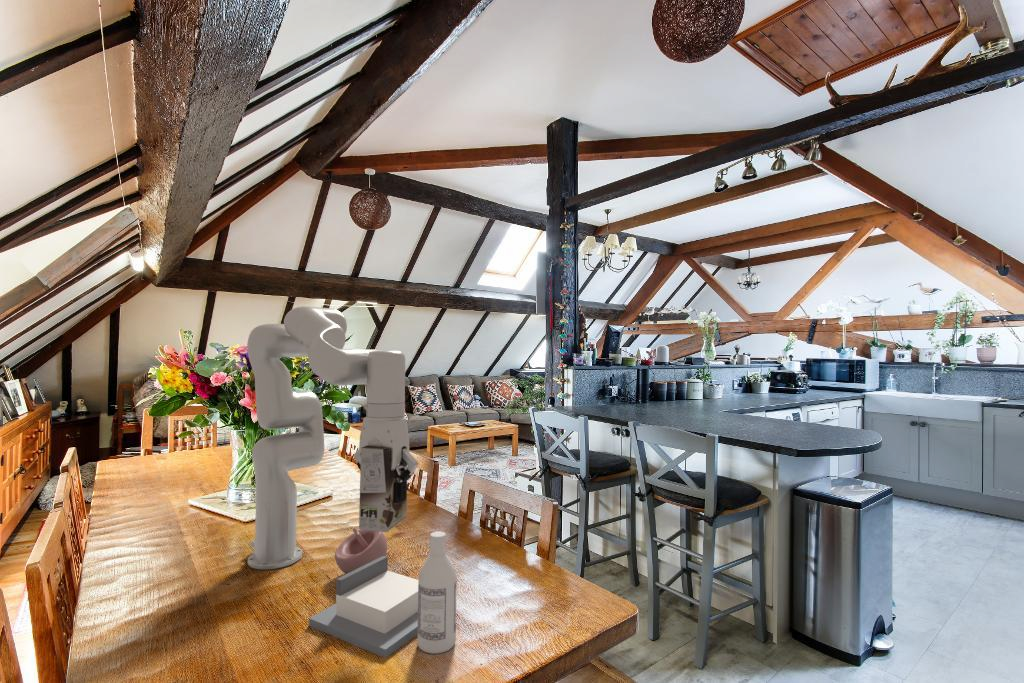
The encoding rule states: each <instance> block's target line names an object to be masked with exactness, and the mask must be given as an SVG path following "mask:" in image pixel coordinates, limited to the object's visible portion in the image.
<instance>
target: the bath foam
mask: <svg viewBox="0 0 1024 683" xmlns="http://www.w3.org/2000/svg"><path fill="white" fill-rule="evenodd" d="M418 580H419V581H418V634H417V645H418V647H419V649H420V650H421V651H422V652H425V653H427V654H434V655H435V654H442V653H445V652H448V651H449V650H451V649H452V648H453V647H454V646H455V644H456V640H457V586H458V585H457V583H458V582H457V573H456V568H455V565H454V563H453V562H452V560H451V559H450V557H449V556H448V554H447V534H446V532H444V531H433V532H431V533H430V535H429V555H428V556H427V558H426V559H425V561H424V562H423V563H422V566H421V569H420V571H419V574H418Z"/></svg>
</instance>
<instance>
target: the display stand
mask: <svg viewBox="0 0 1024 683" xmlns="http://www.w3.org/2000/svg"><path fill="white" fill-rule="evenodd" d="M388 558H389V557H388V556H387V555H386V556H382V557H380V558H378V559H376V560H374V561H372V562H370V563H368V564H366V565H364V566H362V567H360V568H358V569H356V570H354V571H352V572H350V573H348V574H344V575H341V576H339V577H337V578H336V580H335V581H336V582H335V584H336V585H335V590H336V591H335V603H334V604H333V605H330V606H329V607H326V608H325V609H323V610H321V611H320V612H318V613H316V614H314V615H312V616H311V617H309V618H308V627H311V628H312V629H315V630H318V631H319V630H320V632H321V633H324V632H325V634H327V635H329V634H330V635H329V636H331V635H332V637H334V638H336V637H337V638H336V639H338V638H339V639H338V640H341V641H343V642H346V643H348V644H350V645H353V646H356V647H358V648H360V649H363V650H365V651H367V652H370V653H372V654H374V655H377V656H379V657H382V658H384V659H386V658H388V657H389V656H390V655H392V654H393V653H394V652H397V650H399V649H400V648H401V647H403V645H405V644H407V643H408V642H409V641H410V640H412V639H413V638H415V637H416V636H418V581H419V579H416V578H413V577H410V576H407V575H403V574H400V573H396V572H395V571H391V570H389V569H388V568H389V567H388V566H389V565H388V562H389V561H388V560H389V559H388ZM414 636H415V637H414Z"/></svg>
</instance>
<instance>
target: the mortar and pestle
mask: <svg viewBox="0 0 1024 683" xmlns="http://www.w3.org/2000/svg"><path fill="white" fill-rule="evenodd" d="M358 529H359V528H357V527H354V528H352V531H353V533H352V534H351V535H349V536H348V537H347V538H345V539H344V540H342V542H341V543H340V544H339V545H338V547H337V548H336V550H335V553H334V558H335V563H336V565H337V566H338V568H339V570H341V572H342V573H344V575H346V574H348V573H350V572H352V571H354V570H356V569H358V568H360V567H362V566H364V565H366V564H368V563H370V562H372V561H374V560H376V559H378V558H380V557H382V556H387V553H388V542H387V538H386V536H385V534H384V532H380V531H371V530H361V529H359V530H358Z"/></svg>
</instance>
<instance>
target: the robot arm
mask: <svg viewBox="0 0 1024 683" xmlns="http://www.w3.org/2000/svg"><path fill="white" fill-rule="evenodd" d="M347 330H348V324H347V319H346V317H345V316H344V314H343V313H342V311H339V310H337V309H335V308H329V307H315V306H304V305H303V306H297V307H295V308H293V309H291V310H289V311H288V312H287V313H286V315H285V316H284V319H283V323H266V324H265V323H264V324H260V325H258V326H255V327H254V328H253V329H252V330H251V331H250V333H249V335H248V339H247V344H246V348H247V356H248V360H249V363H250V366H251V369H252V371H253V375H254V387H255V388H254V389H255V392H254V393H255V406H256V419H257V422H258V425H259V426H260V428H262V429H263V430H264V429H265V430H268V431H269V430H283V429H291V428H298V431H297V432H290V433H288V432H287V433H279V434H273V435H269V436H265V437H262V438H261V439H259V440H258V441H256V443H254V445H253V447H252V450H251V458H252V463H253V465H252V466H253V470H254V471H253V472H254V478H255V520H254V522H255V523H254V524H255V526H254V527H255V529H254V530H255V531H254V533H255V534H254V540H251V541H250V542H249V544H248V545H249V546H250V547H252V548H253V552H252V554H250V555H249V556H248V558H247V565H248V566H249V568H252V569H255V570H276V569H280V568H285V567H288V566H291V565H293V564H295V563H297V562H298V561H299V560H300V559H301V558H302V557H303V549H302V548H301V547H299V546H297V516H298V515H297V514H298V513H297V509H298V508H297V507H298V506H297V505H298V503H297V502H298V500H297V499H298V489H297V485H296V483H295V481H294V480H293V479H292V478H291V476H290V475H289V472H291V471H294V470H299V469H305V468H310V467H314V466H316V465H318V464H320V463H321V461H322V460H323V458H324V455H325V435H324V434H325V433H324V418H323V417H324V416H323V408H322V404H321V400H320V399H319V397H318V395H317V393H314V392H312V391H311V390H310V391H309V390H296V391H294V390H293V386H292V375H291V373H290V370H289V369H288V367H287V366H286V365H285V363H284V362H282V360H281V359H280V358H307V360H308V363H309V364H308V365H309V367H310V369H311V371H312V372H313V373H314V374H315V375H316V376H318V377H319V378H320V379H321V380H322V381H324V382H326V383H328V384H329V385H333V386H336V387H337V386H338V387H339V386H341V387H343V386H355V385H366V404H365V406H364V409H365V410H366V413H365V414H366V416H365V417H363V419H362V420H363V421H362V423H361V424H362V425H361V429H360V434H359V442H358V444H359V446H358V450H357V451H355V453H354V454H353V458H354V459H355V461H356V465H357V468H358V469H359V470H360V467H361V447H364V446H380V447H387V448H391V471H392V470H394V477H395V480H396V482H395V483H394V493H393V502H394V503H399V502H402V501H405V500H406V499H408V498H407V495H408V481H410V480H411V477H412V476H413V475H414V473H415V470H416V469H417V468H418V466H419V462H418V461H417V459H416V458H415V457H414V456H413V455H412V454H411V453H410V434H409V429H408V426H409V425H408V422H407V418H405V416H406V415H405V414H406V413H405V410H406V409H405V406H406V405H405V404H406V403H405V402H406V401H405V400H406V395H405V394H406V392H405V391H406V389H405V388H406V356H405V354H404V353H403V351H400V350H380V349H375V348H373V349H372V348H369V349H367V348H366V349H365V348H364V349H363V348H344V347H345V344H346V340H347V339H346V338H347V336H346V333H347ZM399 464H400V466H399ZM406 466H407V469H406ZM399 470H400V471H401V473H402V474H401V475H400V472H399Z"/></svg>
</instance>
